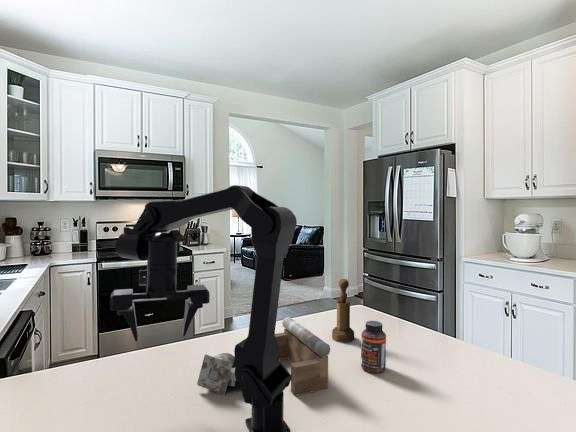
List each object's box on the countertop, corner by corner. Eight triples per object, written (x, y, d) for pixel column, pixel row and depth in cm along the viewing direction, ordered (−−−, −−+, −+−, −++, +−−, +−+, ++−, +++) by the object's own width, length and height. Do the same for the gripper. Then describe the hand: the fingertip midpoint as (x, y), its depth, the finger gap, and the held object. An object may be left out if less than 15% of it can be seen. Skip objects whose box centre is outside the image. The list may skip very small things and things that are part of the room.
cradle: (330, 387, 78) (330, 342, 78) (294, 395, 75) (294, 348, 74) (292, 353, 96) (292, 316, 96) (262, 358, 93) (262, 320, 93)
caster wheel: (258, 387, 83) (243, 404, 74) (214, 371, 86) (195, 385, 76) (265, 359, 84) (252, 371, 74) (222, 344, 86) (203, 354, 77)
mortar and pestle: (330, 341, 105) (330, 280, 105) (333, 333, 112) (334, 276, 111) (352, 343, 103) (353, 281, 103) (355, 335, 110) (356, 277, 109)
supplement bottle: (357, 370, 86) (358, 324, 86) (364, 361, 92) (364, 317, 91) (382, 376, 84) (383, 328, 83) (388, 366, 89) (388, 321, 89)
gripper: (201, 255, 84) (200, 321, 85) (113, 257, 77) (112, 329, 77) (210, 263, 74) (208, 338, 74) (110, 267, 66) (109, 349, 67)
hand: (160, 338), depth 74 cm, fingers open, 9 cm apart
